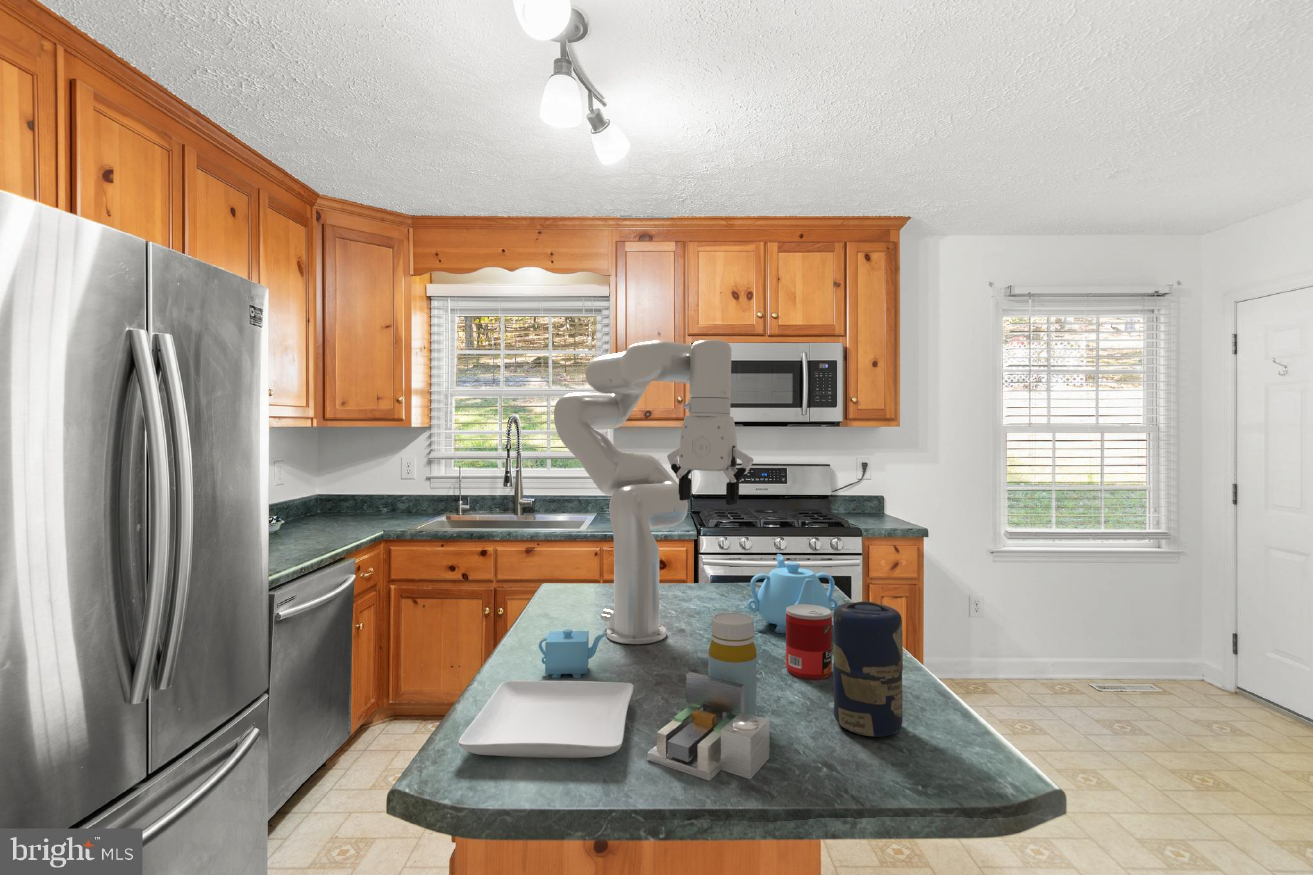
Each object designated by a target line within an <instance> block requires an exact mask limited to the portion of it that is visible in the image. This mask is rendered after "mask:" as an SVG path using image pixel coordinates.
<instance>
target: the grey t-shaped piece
mask: <svg viewBox="0 0 1313 875" xmlns="http://www.w3.org/2000/svg"><path fill="white" fill-rule="evenodd" d="M685 676H686V677H685V678H686V679H685V682H686V683H685V684H686V686H685V690H686V691H685V692H686V693H685V694H686V695H685V698H686V699H685V702H686V703H687V704H688V703H689V704H690V705H691V704H695V705H699V706H702V710H700V709H699V710H695V711H694V712H693V713H692V722H691V723H690V724H689V725H687V726H686V727H685V728H684V729H682V730H681V731H680V732H679V733H677V734H676V735H675V736H674V737H672V738H671V739H670V740H668V756H671V757H674V758H677V759H680V760H683V761H686V762H689V761H690V760H691V759H692V758H694V757H695V756H696V755H697V754H698V744H699V743H700V742H701V741H702V740H704V739H705V738H706V737H707V736H708V735H709V734H710V733H712V732H713V728H715V727H716V726H717V725H718V724H719V723H720V722H721V721H723V720H724V719H725V718H726V713H729V714H733V715H738V714H739V713H740V712H743V713H744V709H745V684H740V683H736V682H732V681H728V680H723V679H719V678H715V677H710V676H708V675H706V674H703V673H702V674H701V673H697V672H692V671H690V672H688V673H686V675H685Z"/></svg>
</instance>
